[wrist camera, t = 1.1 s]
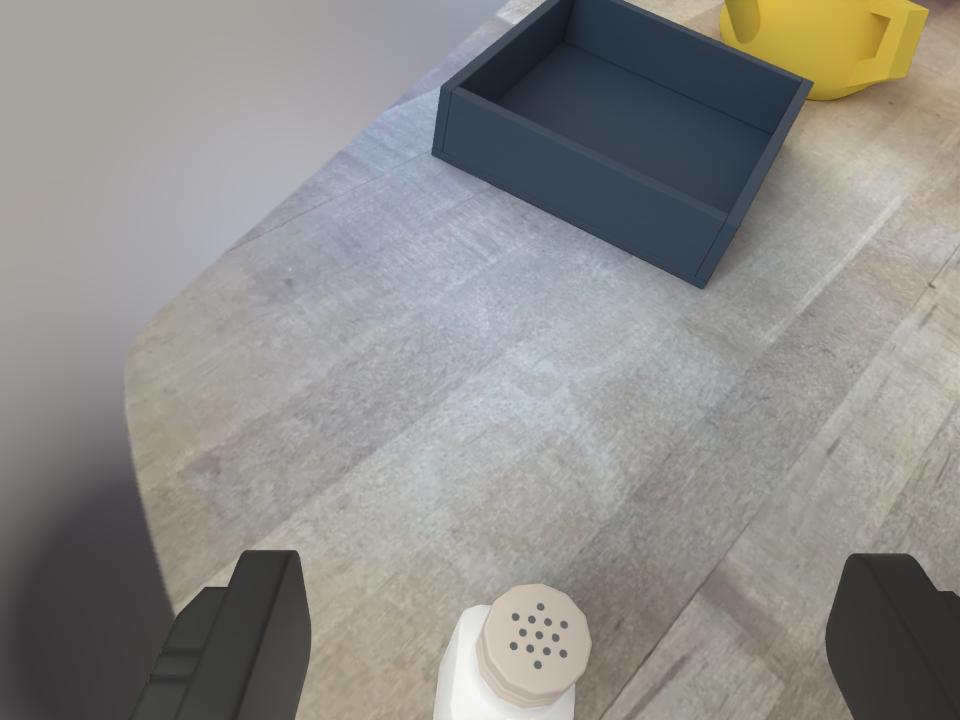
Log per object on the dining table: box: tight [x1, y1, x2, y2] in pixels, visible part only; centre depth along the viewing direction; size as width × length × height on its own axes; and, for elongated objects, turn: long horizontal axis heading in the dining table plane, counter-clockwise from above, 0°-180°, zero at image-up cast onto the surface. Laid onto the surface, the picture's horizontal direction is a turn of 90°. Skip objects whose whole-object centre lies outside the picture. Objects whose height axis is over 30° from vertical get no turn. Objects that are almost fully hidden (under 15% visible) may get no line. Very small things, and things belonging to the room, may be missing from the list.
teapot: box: [719, 0, 929, 100], centre depth 61 cm, size 20×18×11 cm
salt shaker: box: [433, 583, 592, 720], centre depth 26 cm, size 4×4×10 cm
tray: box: [431, 0, 814, 289], centre depth 52 cm, size 20×20×5 cm
